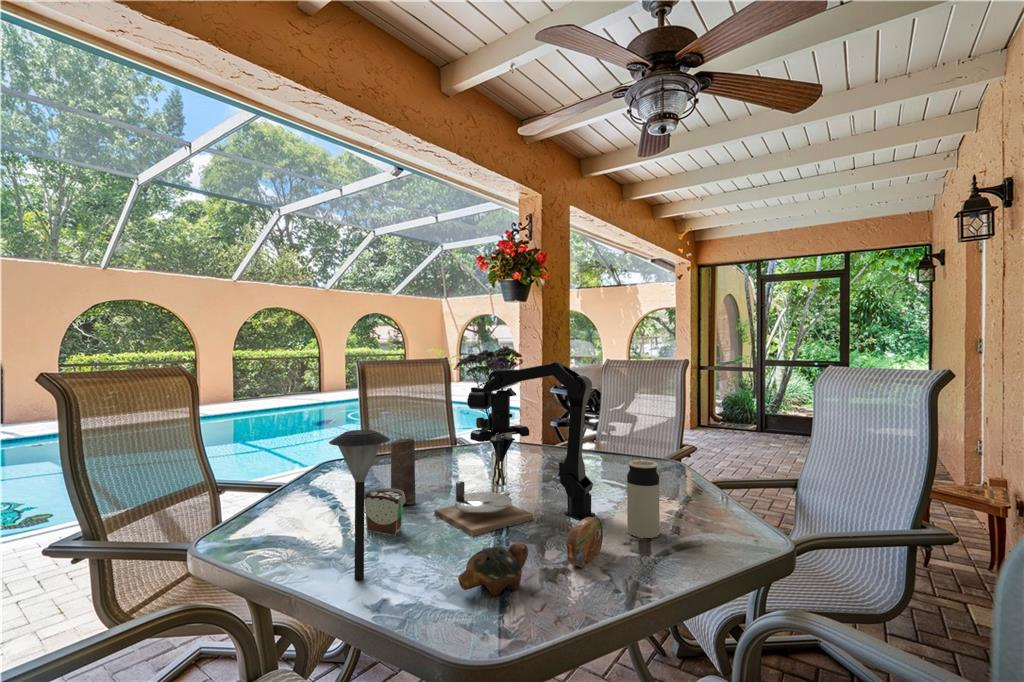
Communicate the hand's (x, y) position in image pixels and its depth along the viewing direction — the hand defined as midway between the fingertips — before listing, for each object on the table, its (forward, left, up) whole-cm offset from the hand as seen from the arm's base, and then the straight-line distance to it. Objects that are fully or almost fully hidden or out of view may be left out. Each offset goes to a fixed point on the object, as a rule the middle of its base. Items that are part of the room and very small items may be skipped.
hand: (500, 461), depth 150 cm
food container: (0, +36, -13) cm, 38 cm away
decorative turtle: (-43, +32, -13) cm, 55 cm away
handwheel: (-7, +11, -11) cm, 17 cm away
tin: (-44, +8, -13) cm, 47 cm away
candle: (+18, +24, -13) cm, 33 cm away
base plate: (-7, +11, -13) cm, 18 cm away
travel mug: (-42, -15, -13) cm, 46 cm away
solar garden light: (-23, +52, -13) cm, 58 cm away
